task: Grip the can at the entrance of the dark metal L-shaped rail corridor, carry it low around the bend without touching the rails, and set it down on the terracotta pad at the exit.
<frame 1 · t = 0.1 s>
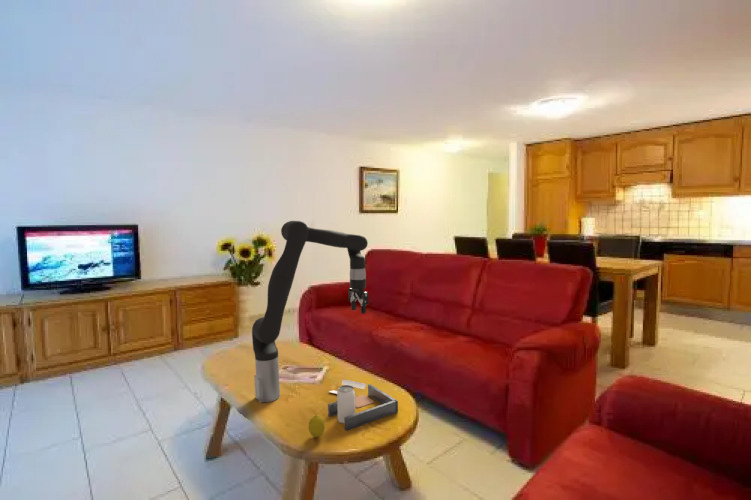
hand: (358, 311, 190), 29 cm above the table, fingers open, 8 cm apart
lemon: (317, 437, 137), on the table
can: (346, 420, 148), on the table
guide rails: (359, 412, 154), on the table
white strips: (347, 391, 173), on the table
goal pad: (360, 401, 162), on the table
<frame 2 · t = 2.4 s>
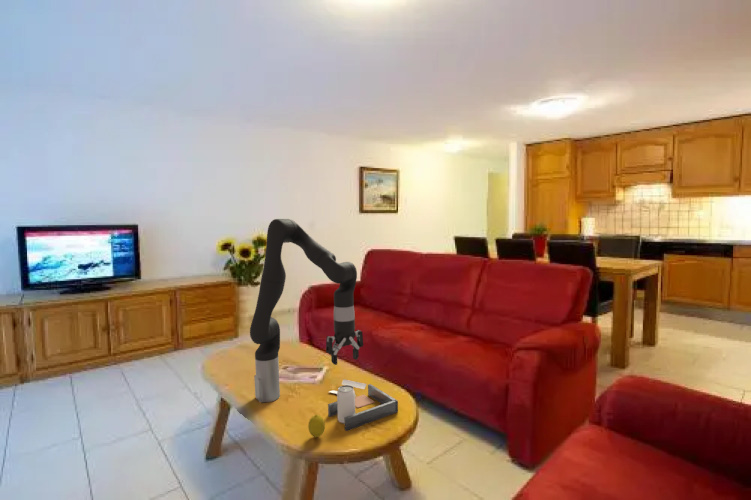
hand: (345, 361, 146), 22 cm above the table, fingers open, 8 cm apart
nothing on the table moved.
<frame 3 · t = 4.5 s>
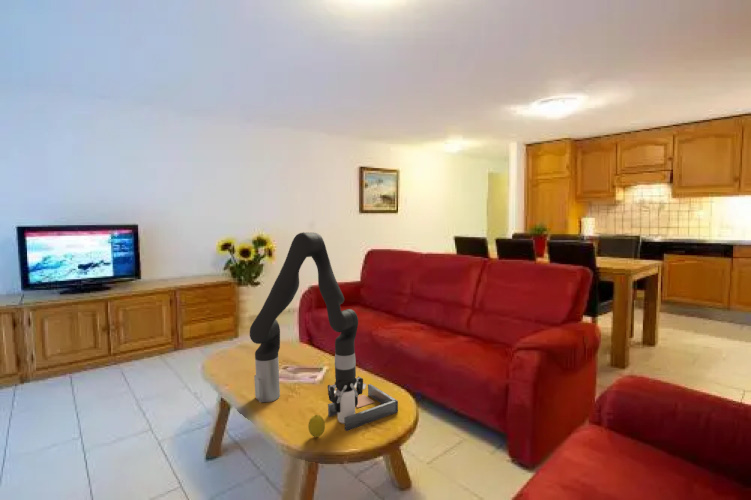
hand: (346, 408, 148), 4 cm above the table, fingers closed on can, 6 cm apart
can: (346, 420, 148), on the table, touching gripper
everything else where it was.
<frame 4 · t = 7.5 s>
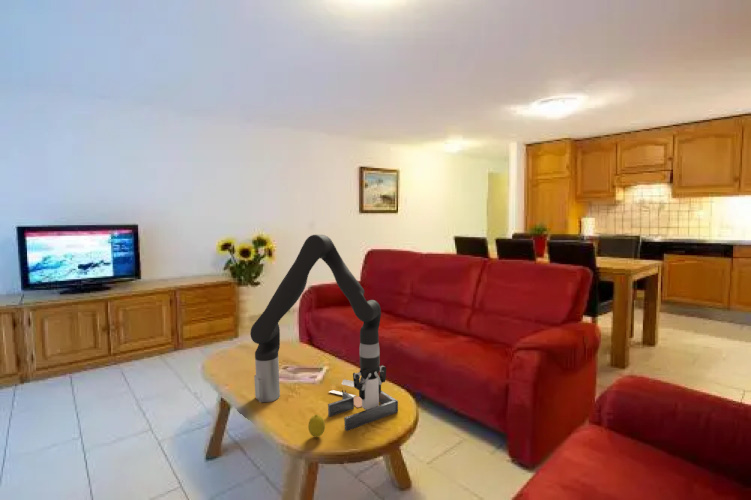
hand: (370, 396, 153), 6 cm above the table, fingers closed on can, 6 cm apart
can: (370, 407, 154), point 2 cm above the table, touching gripper
everything else where it was.
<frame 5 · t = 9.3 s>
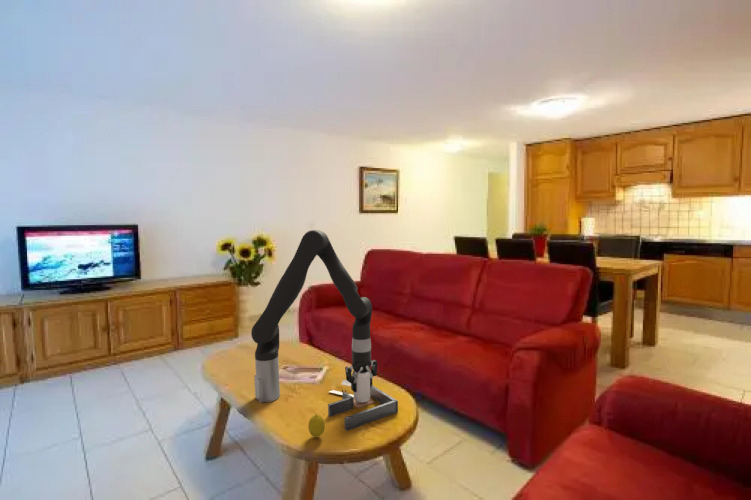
hand: (361, 389, 160), 6 cm above the table, fingers closed on can, 6 cm apart
can: (362, 399, 161), point 1 cm above the table, touching gripper
everything else where it was.
when the fingers open (5 cm above the table, at t = 10.6 s): can stays where it is, resting on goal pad.
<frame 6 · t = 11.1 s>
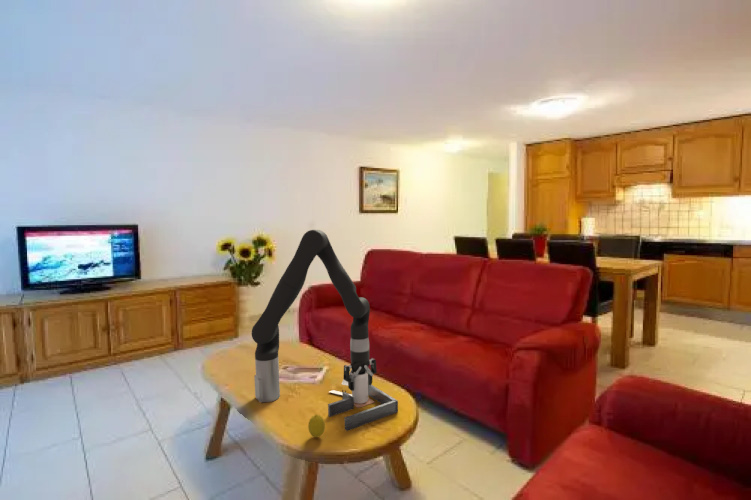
hand: (360, 387, 162), 6 cm above the table, fingers open, 8 cm apart
can: (360, 401, 162), resting on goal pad
everything else where it was.
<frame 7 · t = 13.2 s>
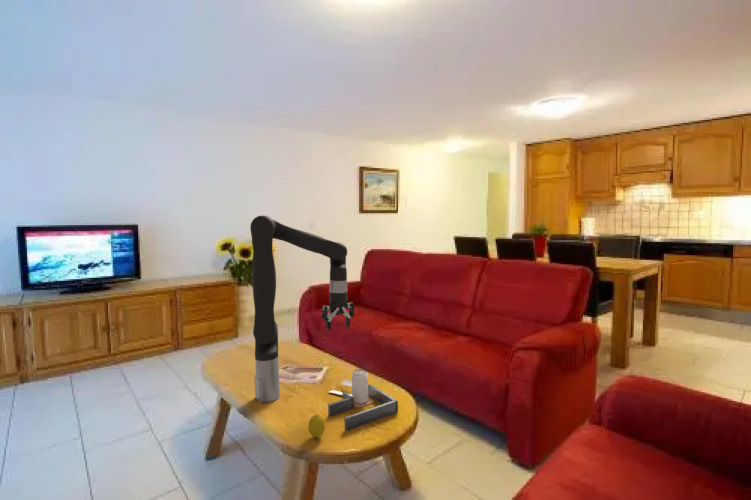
hand: (338, 328, 169), 27 cm above the table, fingers open, 8 cm apart
nothing on the table moved.
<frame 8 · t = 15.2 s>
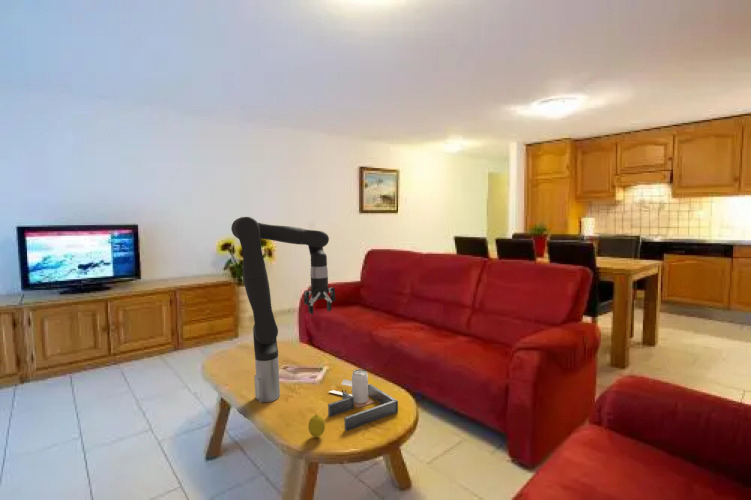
hand: (320, 312, 178), 32 cm above the table, fingers open, 8 cm apart
nothing on the table moved.
at the end: can inside the target area (0.3 cm from its centre), resting on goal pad; can tilted 0°; can touching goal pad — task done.
